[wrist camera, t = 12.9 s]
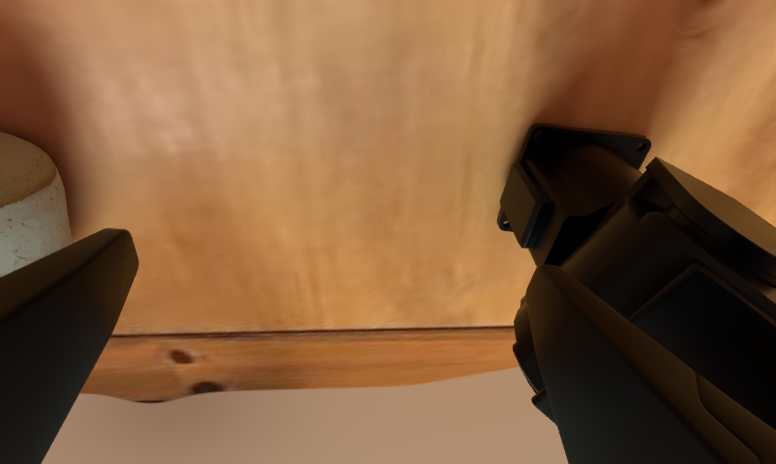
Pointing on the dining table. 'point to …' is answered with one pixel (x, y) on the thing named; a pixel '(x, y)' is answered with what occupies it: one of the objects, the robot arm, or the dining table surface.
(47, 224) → the ceramic mug
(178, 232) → the dining table surface
